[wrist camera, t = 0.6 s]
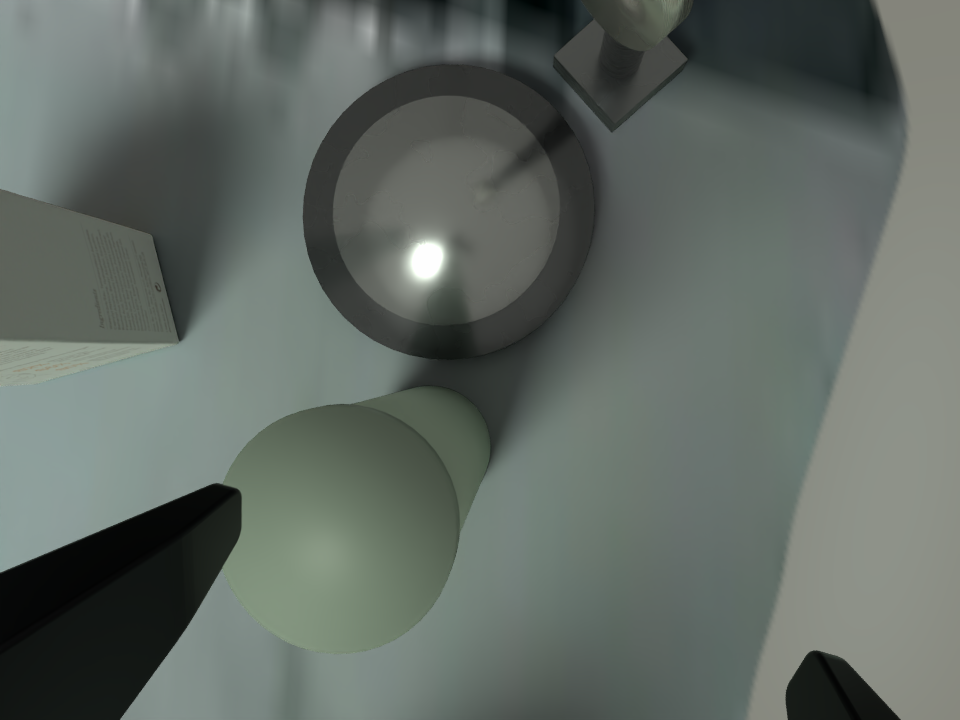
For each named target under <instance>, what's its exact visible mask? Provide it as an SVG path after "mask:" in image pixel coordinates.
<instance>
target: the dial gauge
mask: <svg viewBox="0 0 960 720" xmlns="http://www.w3.org/2000/svg"><path fill="white" fill-rule="evenodd" d="M581 1H582V2H583V4H584V5H585V7H586V8H587V10H588V11H589V13H590V14H591V15H592V17H593V18H594V20H593V21H592V22H590V23H589V24H588V25H587V26H586V27H585V28H584V29H583V30H582V31H581V32H579V33H578V34H577V35H576V36H575V37H574V38H573V39H572V40H571V41H569V42H568V43H567V44H566V45H565V46H564V47H563V48H562V49H561V50H559V51H558V52H557V53H556V54H555V55H554V62H553V67H554V68H555V70H556V71H557V72H558V73H559V74H560V75H561V76H562V77H563V78H564V80H565V81H566V82H567V83H568V84H569V85H570V86H571V87H572V88H573V90H574V91H575V92H576V93H577V94H578V95H579V96H580V97H581V99H582V100H583V101H584V102H585V103H586V104H587V105H588V106H589V107H590V109H591V110H592V111H593V112H594V113H595V114H596V115H597V116H598V118H599V119H600V120H601V121H602V122H603V123H604V124H605V125H606V126H607V128H608V129H609V130H610V131H611V132H613V131H614V130H615V129H616V128H618V127H619V126H620V125H621V124H622V123H623V122H624V121H626V120H627V119H628V118H629V117H630V116H631V115H632V114H633V113H635V112H636V111H637V110H638V109H639V108H640V107H641V106H643V105H644V104H645V103H646V102H647V101H648V100H649V99H651V98H652V97H653V96H654V95H655V94H656V93H657V92H658V91H660V90H661V89H662V88H663V87H664V86H665V85H666V84H668V83H669V82H670V81H671V80H672V79H673V78H674V77H676V76H677V75H678V74H679V73H680V72H681V71H682V70H683V68H684V66H685V64H686V62H687V60H688V59H687V58H686V57H685V56H684V54H683V53H682V52H681V51H680V50H679V49H678V48H677V47H676V46H675V45H674V43H673V42H672V41H671V40H670V39H669V38H668V37H667V35H668V34H669V33H670V32H671V31H673V30H674V29H675V28H676V27H677V26H678V25H679V24H680V23H682V22H683V21H684V20H685V19H686V17H687V16H688V15H689V13H690V11H691V8H692V5H693V1H694V0H581Z"/></svg>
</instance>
